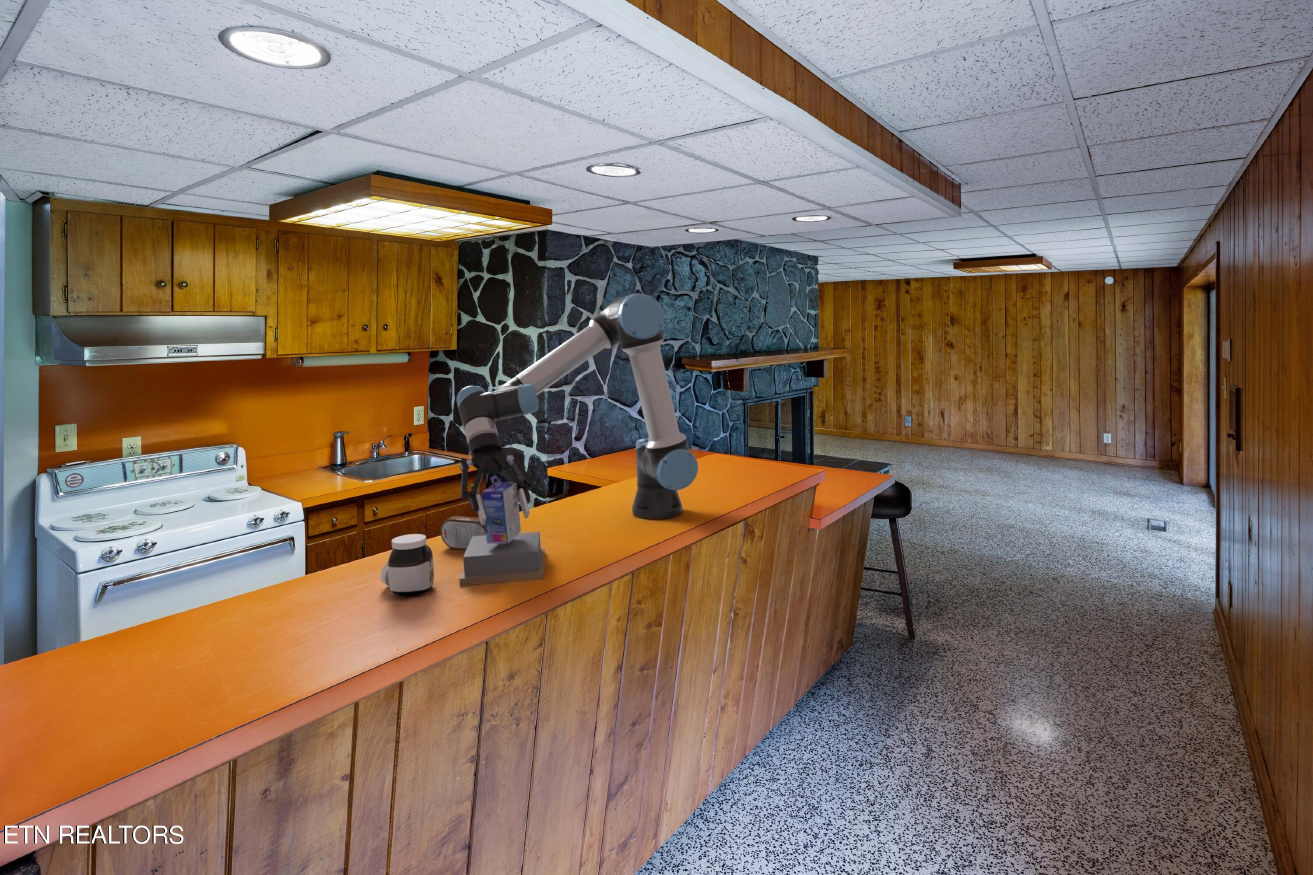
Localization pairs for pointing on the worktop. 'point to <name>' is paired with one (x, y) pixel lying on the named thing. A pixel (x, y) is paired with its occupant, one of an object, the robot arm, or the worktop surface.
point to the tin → (461, 531)
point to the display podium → (503, 560)
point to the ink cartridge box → (501, 511)
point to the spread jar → (409, 566)
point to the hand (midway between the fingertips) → (505, 518)
